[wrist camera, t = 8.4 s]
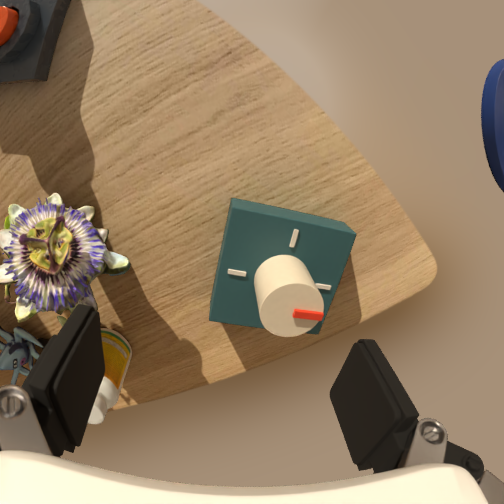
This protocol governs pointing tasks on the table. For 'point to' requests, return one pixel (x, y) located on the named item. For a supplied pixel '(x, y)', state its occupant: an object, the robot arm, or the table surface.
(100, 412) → the supplement bottle
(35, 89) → the table surface
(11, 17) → the button
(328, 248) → the dial panel
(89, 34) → the table surface
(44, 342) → the figurine
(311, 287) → the program dial
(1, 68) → the housing
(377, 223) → the table surface
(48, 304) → the passion flower
